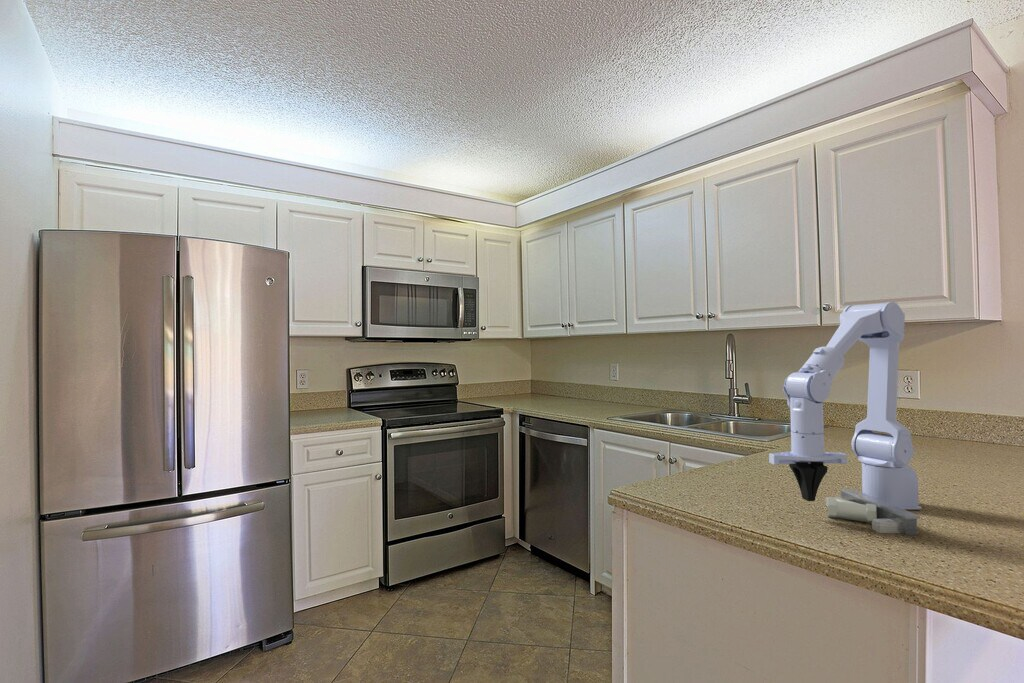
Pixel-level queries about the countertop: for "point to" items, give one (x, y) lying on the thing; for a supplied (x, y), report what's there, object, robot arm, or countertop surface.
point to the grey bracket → (884, 513)
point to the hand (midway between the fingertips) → (808, 499)
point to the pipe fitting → (851, 510)
